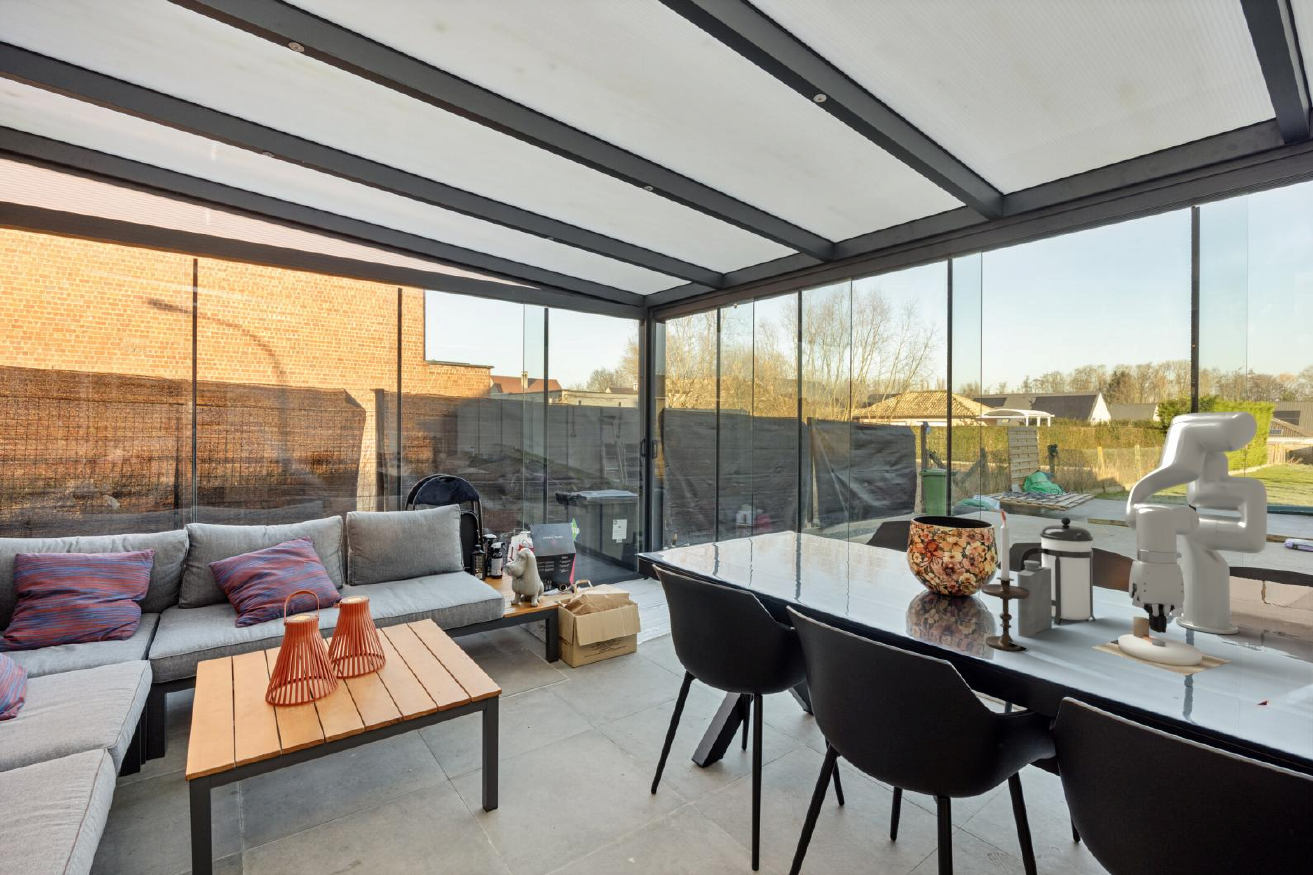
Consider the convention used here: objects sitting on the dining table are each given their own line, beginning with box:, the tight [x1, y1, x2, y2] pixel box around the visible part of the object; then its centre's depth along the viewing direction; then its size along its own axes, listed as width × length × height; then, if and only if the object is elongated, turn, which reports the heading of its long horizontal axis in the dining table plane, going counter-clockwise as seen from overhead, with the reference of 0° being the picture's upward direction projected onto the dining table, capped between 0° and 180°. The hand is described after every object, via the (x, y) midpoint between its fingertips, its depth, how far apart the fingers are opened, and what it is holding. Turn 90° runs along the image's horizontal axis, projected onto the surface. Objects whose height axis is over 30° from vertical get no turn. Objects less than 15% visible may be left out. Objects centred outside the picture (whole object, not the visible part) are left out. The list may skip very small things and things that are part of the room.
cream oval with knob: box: [1117, 616, 1203, 665], centre depth 139 cm, size 16×15×6 cm
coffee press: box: [1018, 517, 1098, 626], centre depth 170 cm, size 17×16×30 cm
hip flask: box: [1017, 559, 1053, 638], centre depth 157 cm, size 16×4×20 cm, turn 127°
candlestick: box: [980, 508, 1030, 653], centre depth 149 cm, size 11×11×35 cm
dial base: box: [1090, 639, 1232, 677], centre depth 138 cm, size 19×19×2 cm
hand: (1157, 630), depth 144 cm, fingers closed
